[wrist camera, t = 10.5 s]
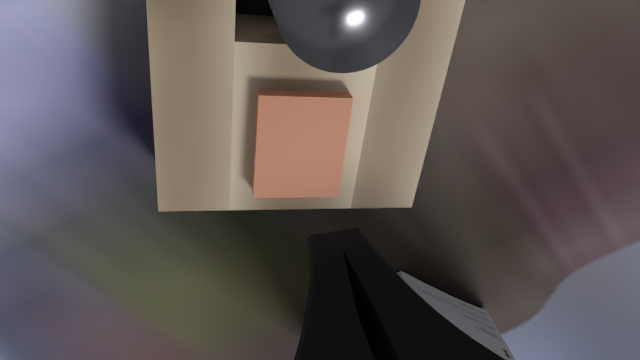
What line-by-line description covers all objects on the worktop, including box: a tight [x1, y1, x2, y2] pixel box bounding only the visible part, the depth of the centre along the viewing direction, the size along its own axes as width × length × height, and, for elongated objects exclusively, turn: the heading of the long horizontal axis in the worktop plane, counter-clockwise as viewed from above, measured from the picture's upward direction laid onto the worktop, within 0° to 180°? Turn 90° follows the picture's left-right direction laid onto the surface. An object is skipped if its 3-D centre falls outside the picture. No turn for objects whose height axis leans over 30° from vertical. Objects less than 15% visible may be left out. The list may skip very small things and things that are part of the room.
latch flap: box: [252, 90, 353, 198], centre depth 19 cm, size 3×4×1 cm
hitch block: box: [146, 0, 465, 211], centre depth 19 cm, size 10×13×3 cm
